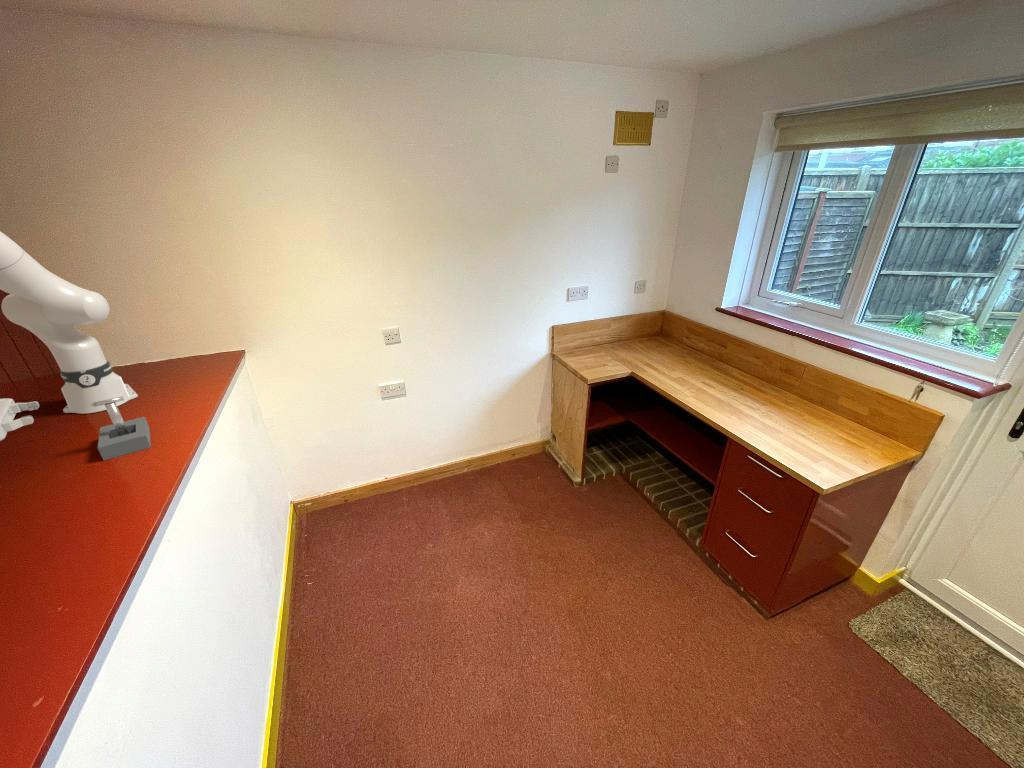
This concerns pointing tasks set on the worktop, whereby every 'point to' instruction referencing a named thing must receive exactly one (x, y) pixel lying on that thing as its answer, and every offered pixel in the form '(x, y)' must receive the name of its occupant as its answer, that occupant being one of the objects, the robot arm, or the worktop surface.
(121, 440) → the grey block with hole
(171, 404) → the worktop surface
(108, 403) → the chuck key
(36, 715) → the worktop surface
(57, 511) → the worktop surface
